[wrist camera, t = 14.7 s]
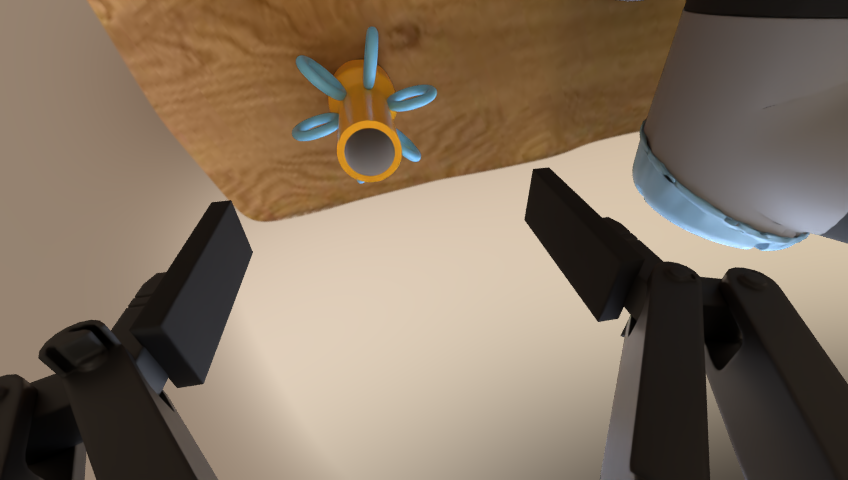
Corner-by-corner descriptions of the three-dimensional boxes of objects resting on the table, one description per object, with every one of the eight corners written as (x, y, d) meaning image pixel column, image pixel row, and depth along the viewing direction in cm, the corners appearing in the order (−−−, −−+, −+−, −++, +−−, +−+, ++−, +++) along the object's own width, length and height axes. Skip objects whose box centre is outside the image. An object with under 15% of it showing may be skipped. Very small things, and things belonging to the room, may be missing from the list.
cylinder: (443, 92, 35) (493, 148, 23) (378, 168, 38) (392, 251, 26) (341, -9, 29) (336, -5, 17) (274, 92, 32) (231, 156, 20)
